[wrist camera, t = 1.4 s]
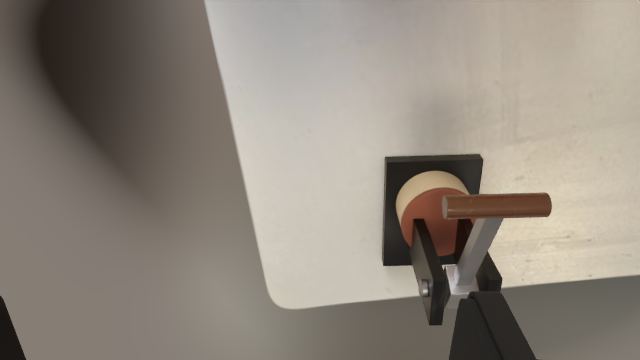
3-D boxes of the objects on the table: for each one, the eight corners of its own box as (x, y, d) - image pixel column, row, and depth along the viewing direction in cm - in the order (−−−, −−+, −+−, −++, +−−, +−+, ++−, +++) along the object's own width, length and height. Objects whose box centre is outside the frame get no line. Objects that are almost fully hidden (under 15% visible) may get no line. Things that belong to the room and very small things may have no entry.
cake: (430, 156, 43) (440, 175, 39) (483, 197, 45) (496, 219, 41) (380, 207, 45) (385, 230, 42) (432, 244, 47) (441, 268, 44)
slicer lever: (443, 184, 28) (450, 217, 26) (544, 181, 28) (557, 214, 26) (415, 282, 38) (419, 310, 37) (489, 280, 38) (496, 308, 36)
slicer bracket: (385, 156, 44) (408, 237, 32) (479, 154, 44) (539, 233, 32) (382, 259, 50) (401, 361, 37) (466, 257, 49) (513, 359, 37)
